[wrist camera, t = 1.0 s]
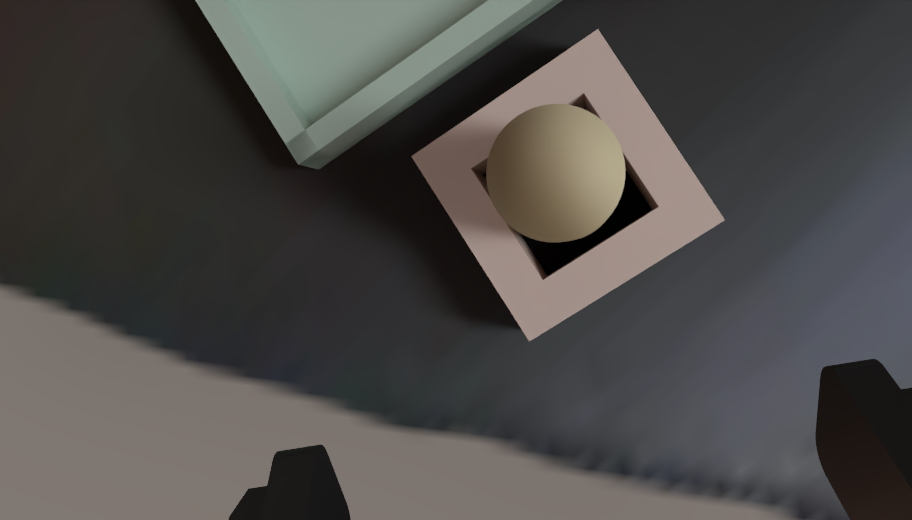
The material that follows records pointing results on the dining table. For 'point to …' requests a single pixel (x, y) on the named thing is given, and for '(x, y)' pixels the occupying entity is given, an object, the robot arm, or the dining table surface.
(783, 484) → the dining table surface
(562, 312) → the socket block
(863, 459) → the robot arm
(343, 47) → the tray
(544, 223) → the dowel
